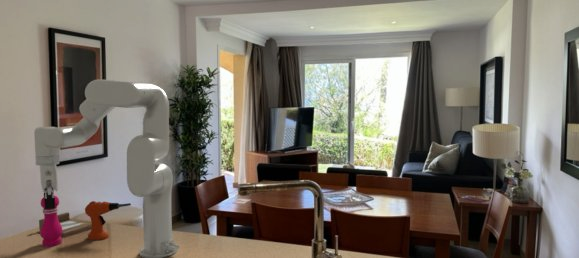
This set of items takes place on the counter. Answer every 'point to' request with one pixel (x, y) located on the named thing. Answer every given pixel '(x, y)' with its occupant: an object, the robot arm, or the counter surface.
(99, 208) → the toy drill
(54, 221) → the pepper mill
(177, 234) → the counter surface
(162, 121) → the robot arm
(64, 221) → the brown picture frame
